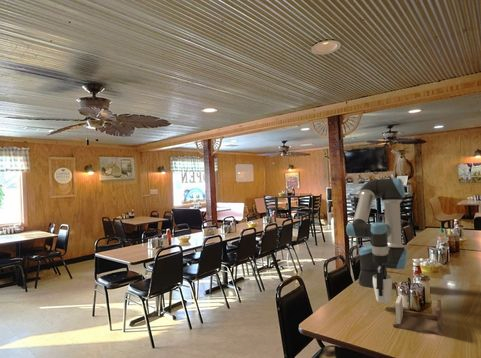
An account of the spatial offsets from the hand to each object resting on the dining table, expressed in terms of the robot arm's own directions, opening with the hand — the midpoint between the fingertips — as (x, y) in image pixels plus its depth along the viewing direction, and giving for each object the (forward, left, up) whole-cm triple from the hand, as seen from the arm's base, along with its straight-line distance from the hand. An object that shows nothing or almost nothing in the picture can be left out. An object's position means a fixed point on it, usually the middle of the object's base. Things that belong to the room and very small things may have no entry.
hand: (383, 298), depth 163 cm
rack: (+16, -14, -5) cm, 22 cm away
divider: (+9, -14, -3) cm, 17 cm away
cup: (0, 0, -1) cm, 1 cm away
